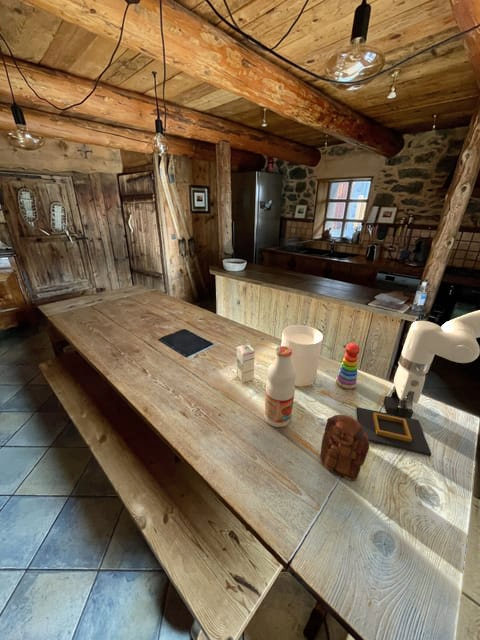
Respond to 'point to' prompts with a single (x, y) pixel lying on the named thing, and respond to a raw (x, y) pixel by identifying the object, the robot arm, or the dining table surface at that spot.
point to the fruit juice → (280, 389)
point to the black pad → (394, 406)
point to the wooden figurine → (344, 446)
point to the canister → (303, 351)
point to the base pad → (393, 431)
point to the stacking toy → (349, 367)
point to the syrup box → (245, 362)
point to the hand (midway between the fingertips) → (397, 408)
